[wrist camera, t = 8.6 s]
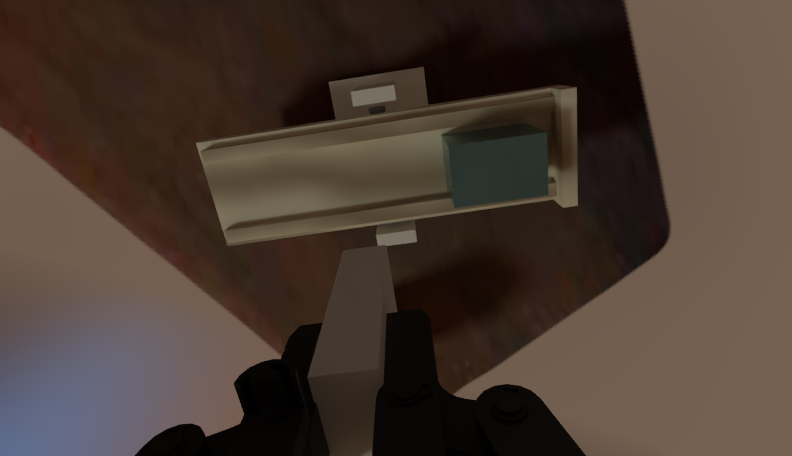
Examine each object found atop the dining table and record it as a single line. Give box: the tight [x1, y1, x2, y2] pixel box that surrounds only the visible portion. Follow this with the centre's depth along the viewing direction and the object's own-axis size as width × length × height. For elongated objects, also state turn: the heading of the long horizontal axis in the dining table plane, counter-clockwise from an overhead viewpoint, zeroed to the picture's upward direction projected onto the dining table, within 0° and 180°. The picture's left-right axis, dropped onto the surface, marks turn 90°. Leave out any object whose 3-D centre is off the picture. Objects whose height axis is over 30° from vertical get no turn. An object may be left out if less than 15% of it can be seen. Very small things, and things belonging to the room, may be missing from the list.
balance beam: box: [196, 85, 578, 246], centre depth 33 cm, size 9×26×6 cm, turn 99°
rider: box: [441, 123, 549, 208], centre depth 30 cm, size 4×6×4 cm, turn 98°
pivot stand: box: [329, 67, 428, 246], centre depth 36 cm, size 13×8×9 cm, turn 9°
